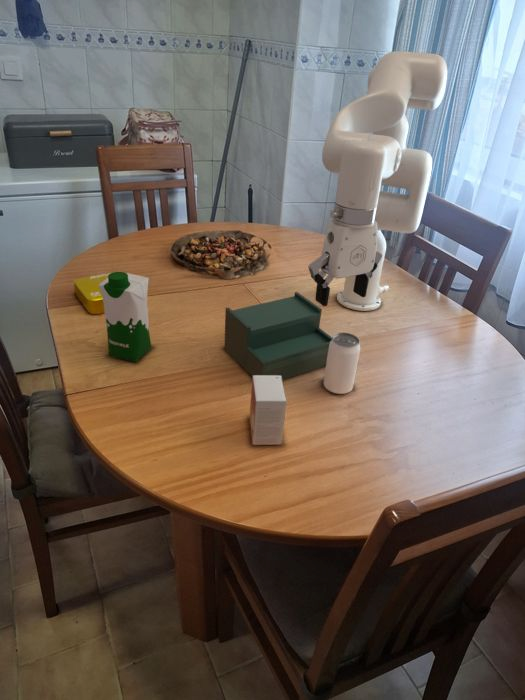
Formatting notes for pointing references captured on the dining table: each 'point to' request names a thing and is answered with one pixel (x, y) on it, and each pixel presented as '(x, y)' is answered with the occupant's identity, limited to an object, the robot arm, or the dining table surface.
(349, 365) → the can
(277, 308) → the step rack
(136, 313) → the milk carton
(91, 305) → the yellow tin box
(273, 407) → the small box
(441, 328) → the dining table surface
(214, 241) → the food dish
